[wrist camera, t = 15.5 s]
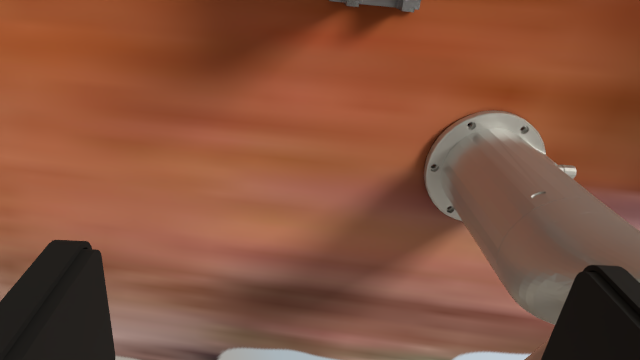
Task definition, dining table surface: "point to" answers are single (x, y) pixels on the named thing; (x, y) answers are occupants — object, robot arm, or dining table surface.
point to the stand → (385, 3)
